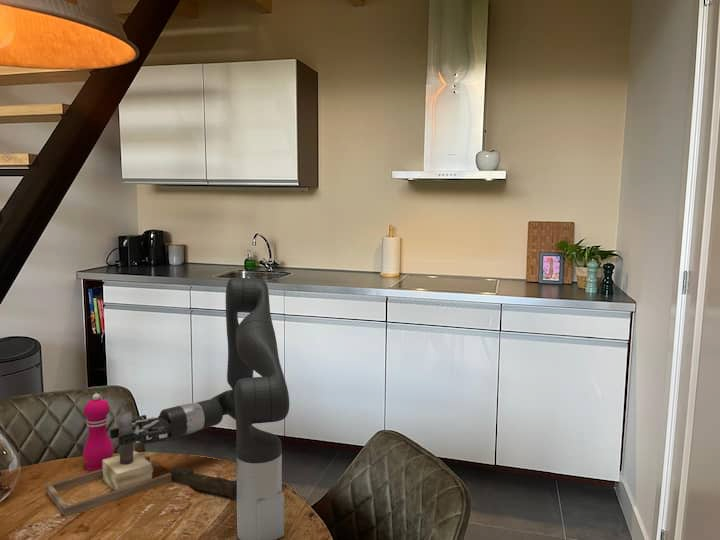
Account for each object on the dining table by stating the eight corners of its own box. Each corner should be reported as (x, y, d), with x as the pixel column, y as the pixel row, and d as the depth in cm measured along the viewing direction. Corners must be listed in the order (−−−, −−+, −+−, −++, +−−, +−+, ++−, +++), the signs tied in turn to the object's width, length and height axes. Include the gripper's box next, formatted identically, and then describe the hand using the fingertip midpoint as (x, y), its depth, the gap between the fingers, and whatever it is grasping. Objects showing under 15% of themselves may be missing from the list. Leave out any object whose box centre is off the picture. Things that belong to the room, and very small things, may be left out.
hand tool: (242, 494, 136) (242, 475, 136) (232, 502, 132) (232, 482, 132) (177, 479, 143) (177, 461, 143) (166, 486, 139) (166, 468, 139)
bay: (171, 486, 139) (171, 474, 139) (65, 522, 123) (64, 509, 123) (148, 466, 149) (148, 455, 149) (46, 497, 133) (46, 485, 133)
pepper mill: (119, 463, 151) (117, 389, 149) (104, 476, 144) (101, 399, 141) (93, 462, 152) (90, 388, 149) (77, 474, 144) (74, 397, 142)
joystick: (153, 483, 138) (151, 415, 136) (118, 494, 132) (115, 424, 130) (136, 469, 145) (134, 404, 143) (102, 479, 140) (100, 412, 138)
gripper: (169, 398, 152) (102, 414, 140) (194, 413, 141) (125, 431, 130) (170, 426, 153) (104, 443, 141) (195, 442, 142) (126, 463, 131)
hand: (114, 437), depth 136 cm, fingers open, 4 cm apart
